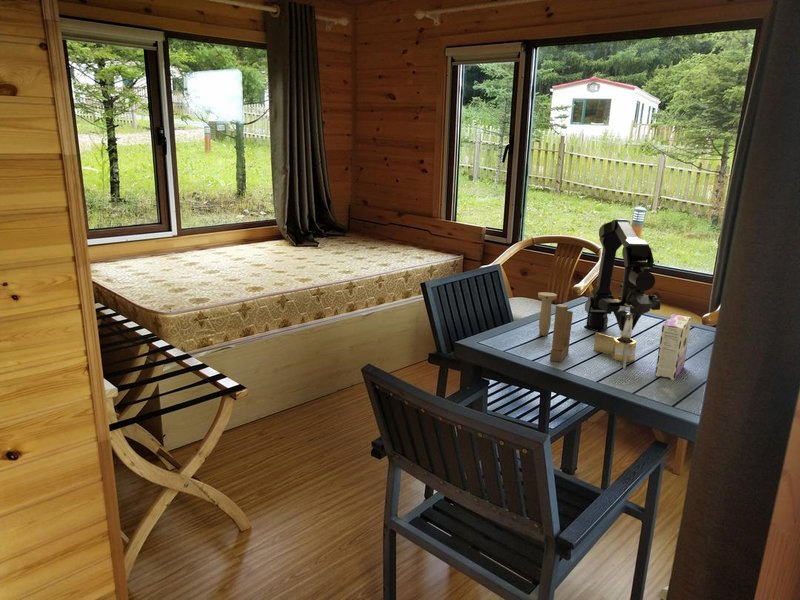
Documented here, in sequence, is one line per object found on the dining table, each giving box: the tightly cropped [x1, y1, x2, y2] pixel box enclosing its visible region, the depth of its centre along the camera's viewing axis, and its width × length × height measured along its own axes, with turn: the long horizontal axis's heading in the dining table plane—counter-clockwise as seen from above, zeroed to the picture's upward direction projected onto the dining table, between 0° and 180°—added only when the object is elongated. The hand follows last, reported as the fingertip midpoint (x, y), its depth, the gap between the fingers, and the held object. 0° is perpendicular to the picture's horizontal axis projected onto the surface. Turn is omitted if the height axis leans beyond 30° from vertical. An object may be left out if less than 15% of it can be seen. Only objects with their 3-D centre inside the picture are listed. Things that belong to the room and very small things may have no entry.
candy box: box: [654, 313, 692, 381], centre depth 182 cm, size 14×6×16 cm, turn 145°
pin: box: [619, 311, 634, 343], centre depth 191 cm, size 3×3×10 cm
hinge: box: [593, 331, 637, 370], centre depth 193 cm, size 16×12×6 cm
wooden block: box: [549, 303, 574, 363], centre depth 192 cm, size 4×11×18 cm, turn 153°
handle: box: [537, 291, 558, 337], centre depth 213 cm, size 5×6×15 cm
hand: (626, 330), depth 192 cm, fingers closed on pin, 3 cm apart
